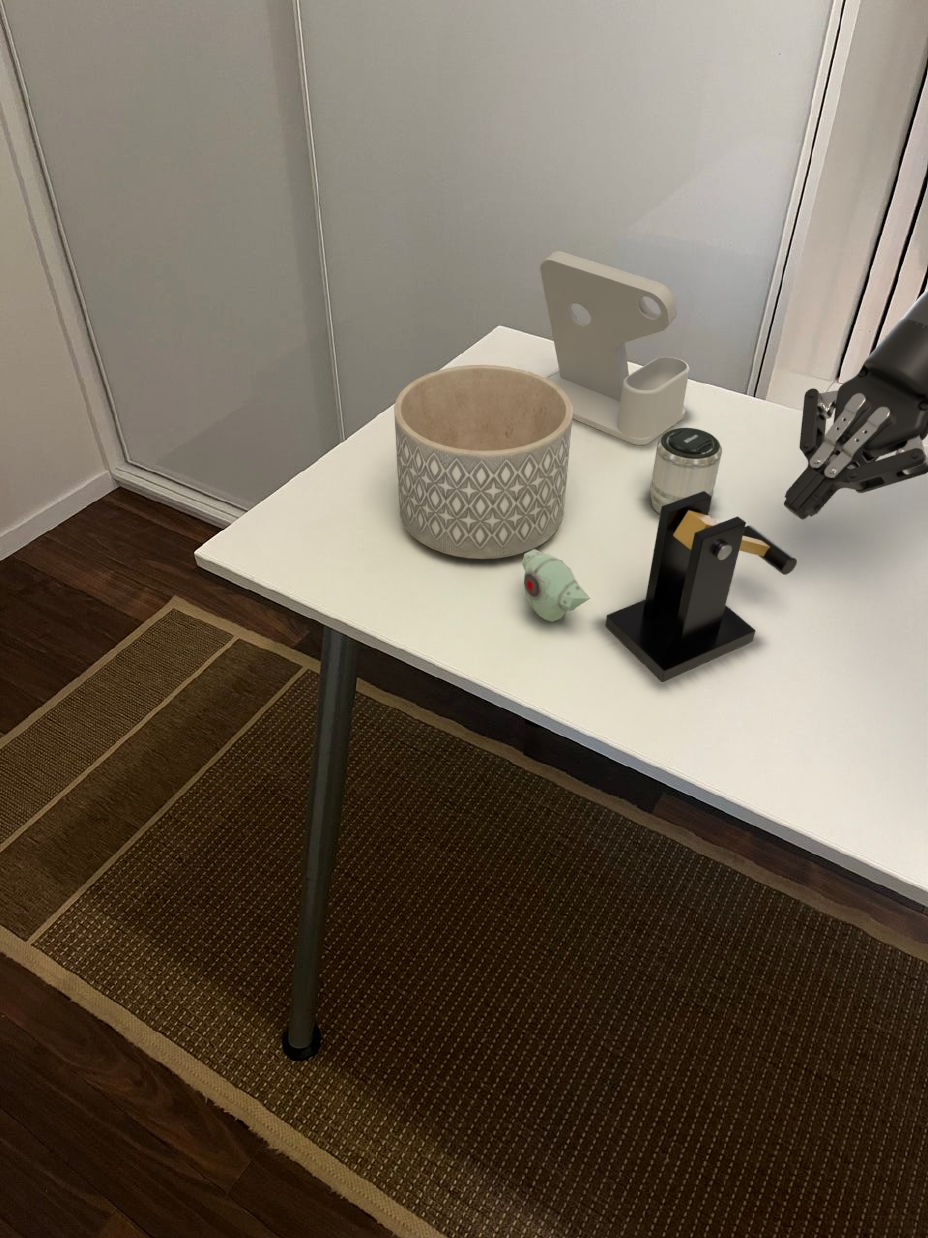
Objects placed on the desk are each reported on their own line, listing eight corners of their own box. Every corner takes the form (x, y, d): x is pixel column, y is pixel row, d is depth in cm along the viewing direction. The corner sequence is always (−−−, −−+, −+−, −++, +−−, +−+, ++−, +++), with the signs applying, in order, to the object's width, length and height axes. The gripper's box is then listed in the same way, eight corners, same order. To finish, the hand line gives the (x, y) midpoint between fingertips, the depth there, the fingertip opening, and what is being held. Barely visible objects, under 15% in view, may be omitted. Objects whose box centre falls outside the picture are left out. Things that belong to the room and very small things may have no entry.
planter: (496, 457, 103) (500, 349, 95) (596, 529, 94) (610, 416, 85) (369, 507, 96) (360, 395, 88) (462, 592, 86) (463, 475, 78)
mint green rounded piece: (591, 636, 82) (599, 576, 77) (553, 654, 80) (559, 593, 76) (537, 586, 87) (542, 527, 82) (501, 602, 85) (503, 542, 81)
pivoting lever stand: (692, 589, 87) (718, 472, 78) (753, 641, 82) (787, 521, 73) (604, 625, 83) (621, 506, 74) (662, 682, 78) (686, 561, 69)
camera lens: (721, 505, 97) (736, 438, 91) (686, 530, 93) (699, 463, 88) (671, 480, 100) (683, 415, 95) (635, 504, 97) (645, 438, 91)
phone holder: (691, 414, 110) (720, 262, 98) (644, 449, 105) (667, 291, 92) (572, 368, 119) (584, 222, 107) (522, 398, 113) (529, 247, 101)
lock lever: (742, 545, 84) (757, 522, 83) (786, 579, 81) (803, 556, 80) (659, 524, 76) (674, 499, 75) (704, 561, 73) (721, 535, 72)
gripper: (862, 291, 78) (722, 457, 82) (1000, 354, 69) (837, 537, 73) (887, 337, 84) (755, 491, 87) (1018, 401, 75) (866, 569, 79)
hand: (793, 512), depth 80 cm, fingers closed
